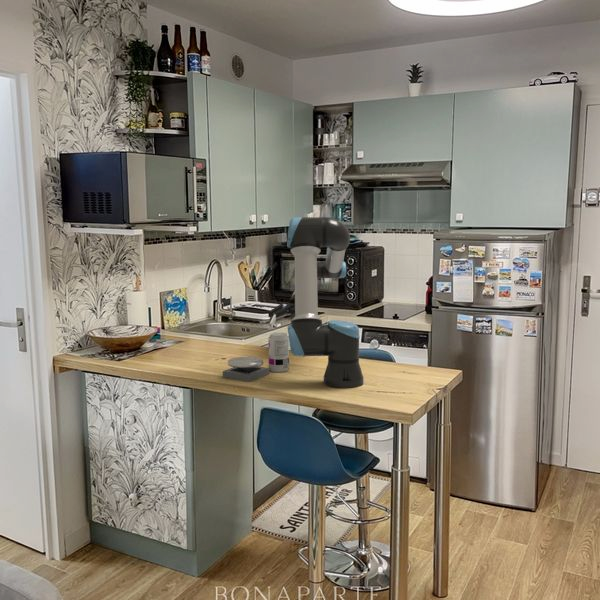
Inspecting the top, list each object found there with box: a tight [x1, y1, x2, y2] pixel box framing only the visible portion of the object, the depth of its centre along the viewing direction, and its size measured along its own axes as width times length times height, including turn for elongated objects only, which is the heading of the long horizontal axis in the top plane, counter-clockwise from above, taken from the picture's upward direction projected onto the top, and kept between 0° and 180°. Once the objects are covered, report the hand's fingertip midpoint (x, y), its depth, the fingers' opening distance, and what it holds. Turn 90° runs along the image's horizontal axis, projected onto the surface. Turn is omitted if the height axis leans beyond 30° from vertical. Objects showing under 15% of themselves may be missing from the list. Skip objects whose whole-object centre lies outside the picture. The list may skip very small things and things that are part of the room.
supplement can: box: [267, 332, 290, 373], centre depth 260 cm, size 8×8×15 cm
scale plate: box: [227, 356, 264, 373], centre depth 252 cm, size 14×14×4 cm
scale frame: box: [222, 366, 270, 383], centre depth 252 cm, size 13×13×3 cm
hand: (286, 328), depth 266 cm, fingers open, 13 cm apart
